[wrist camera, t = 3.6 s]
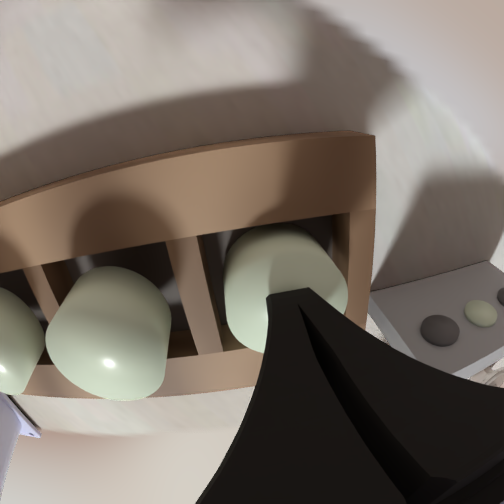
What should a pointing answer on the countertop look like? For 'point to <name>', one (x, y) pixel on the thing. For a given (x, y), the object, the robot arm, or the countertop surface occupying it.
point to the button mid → (112, 334)
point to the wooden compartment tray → (191, 239)
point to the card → (446, 318)
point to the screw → (489, 377)
